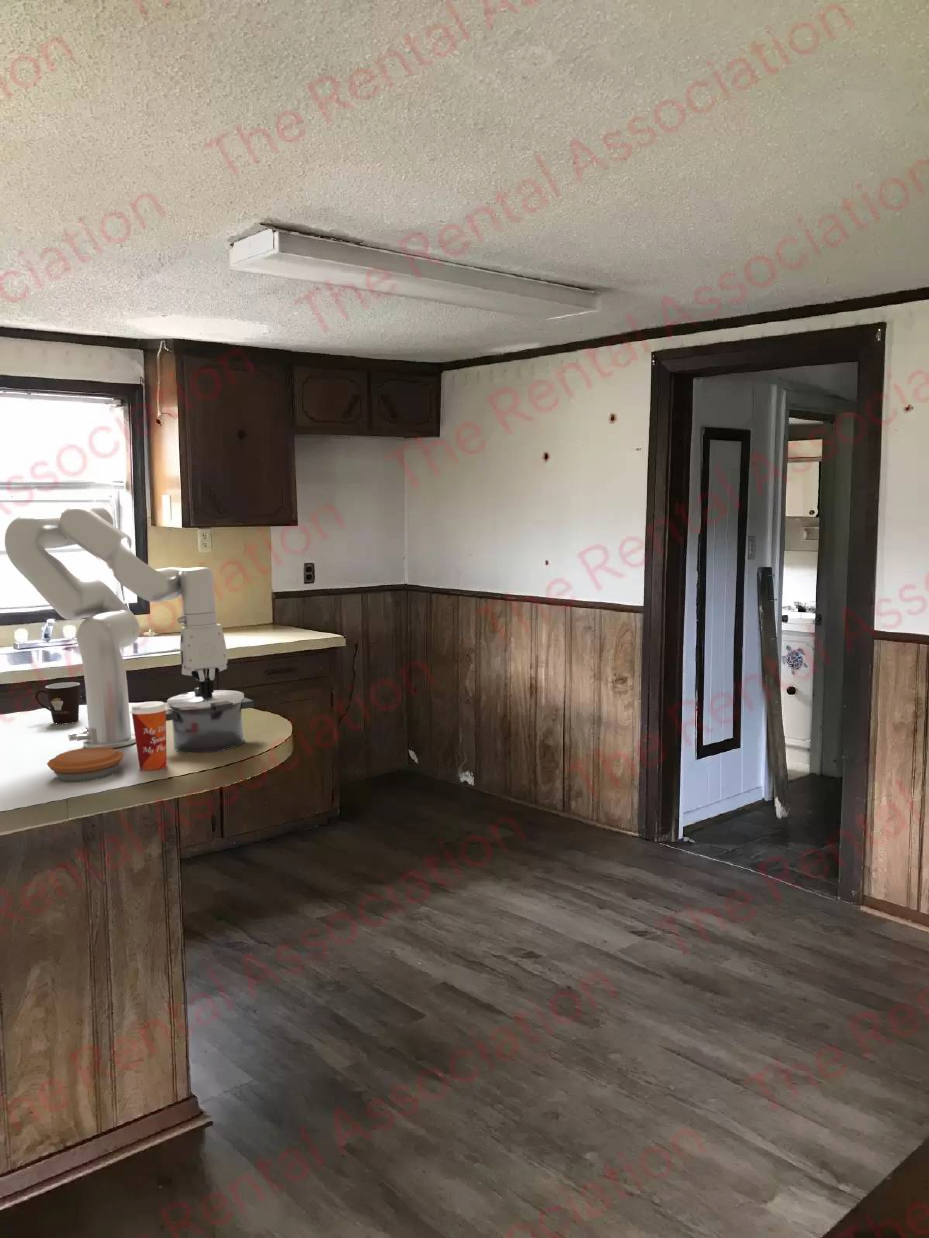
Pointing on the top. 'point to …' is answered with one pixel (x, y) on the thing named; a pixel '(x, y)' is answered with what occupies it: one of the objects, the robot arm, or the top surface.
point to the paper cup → (150, 734)
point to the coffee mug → (62, 701)
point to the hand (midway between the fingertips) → (206, 696)
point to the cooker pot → (207, 728)
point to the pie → (86, 764)
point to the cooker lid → (206, 700)
